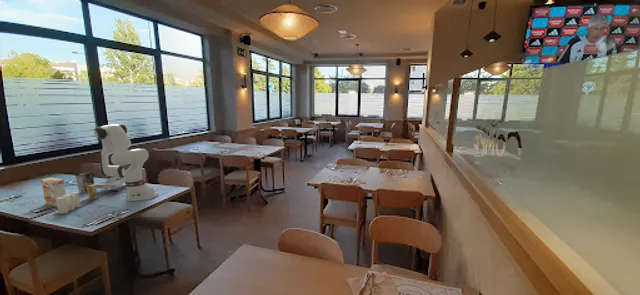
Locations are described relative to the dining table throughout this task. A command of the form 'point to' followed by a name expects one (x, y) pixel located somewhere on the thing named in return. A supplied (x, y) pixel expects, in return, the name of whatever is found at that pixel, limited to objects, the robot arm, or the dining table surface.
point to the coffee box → (84, 181)
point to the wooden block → (92, 192)
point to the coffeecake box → (53, 190)
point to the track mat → (82, 203)
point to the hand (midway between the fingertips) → (99, 188)
